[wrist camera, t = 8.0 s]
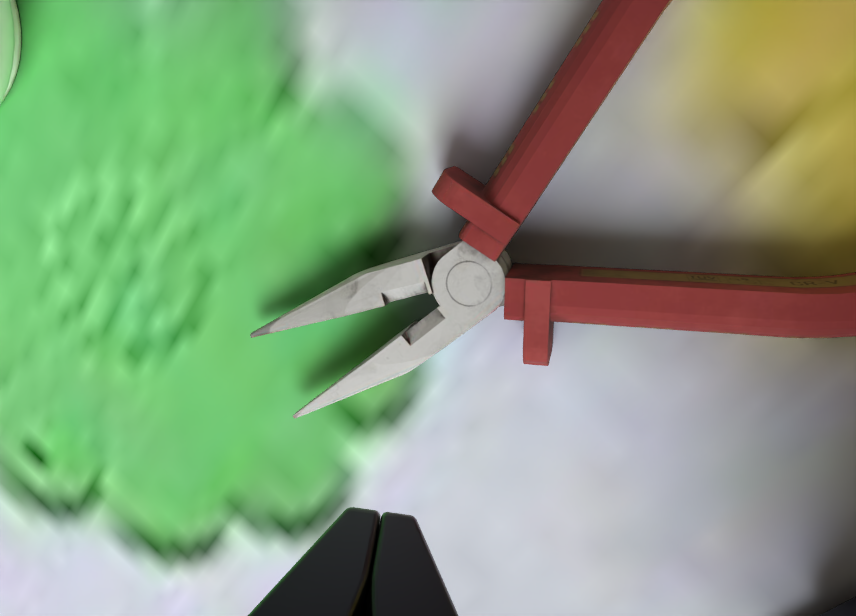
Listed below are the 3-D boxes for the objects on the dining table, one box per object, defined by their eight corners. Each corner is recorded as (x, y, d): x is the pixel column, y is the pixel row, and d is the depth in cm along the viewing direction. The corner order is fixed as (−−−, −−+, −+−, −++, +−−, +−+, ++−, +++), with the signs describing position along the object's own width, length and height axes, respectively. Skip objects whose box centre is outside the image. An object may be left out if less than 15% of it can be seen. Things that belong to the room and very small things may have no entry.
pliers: (201, 205, 22) (151, 216, 20) (872, -213, 16) (923, -275, 13) (375, 511, 24) (348, 557, 21) (1063, 242, 17) (1141, 262, 15)
